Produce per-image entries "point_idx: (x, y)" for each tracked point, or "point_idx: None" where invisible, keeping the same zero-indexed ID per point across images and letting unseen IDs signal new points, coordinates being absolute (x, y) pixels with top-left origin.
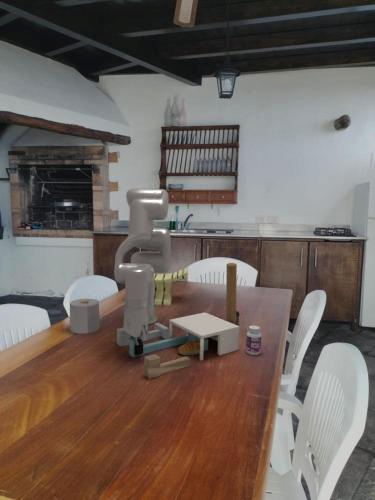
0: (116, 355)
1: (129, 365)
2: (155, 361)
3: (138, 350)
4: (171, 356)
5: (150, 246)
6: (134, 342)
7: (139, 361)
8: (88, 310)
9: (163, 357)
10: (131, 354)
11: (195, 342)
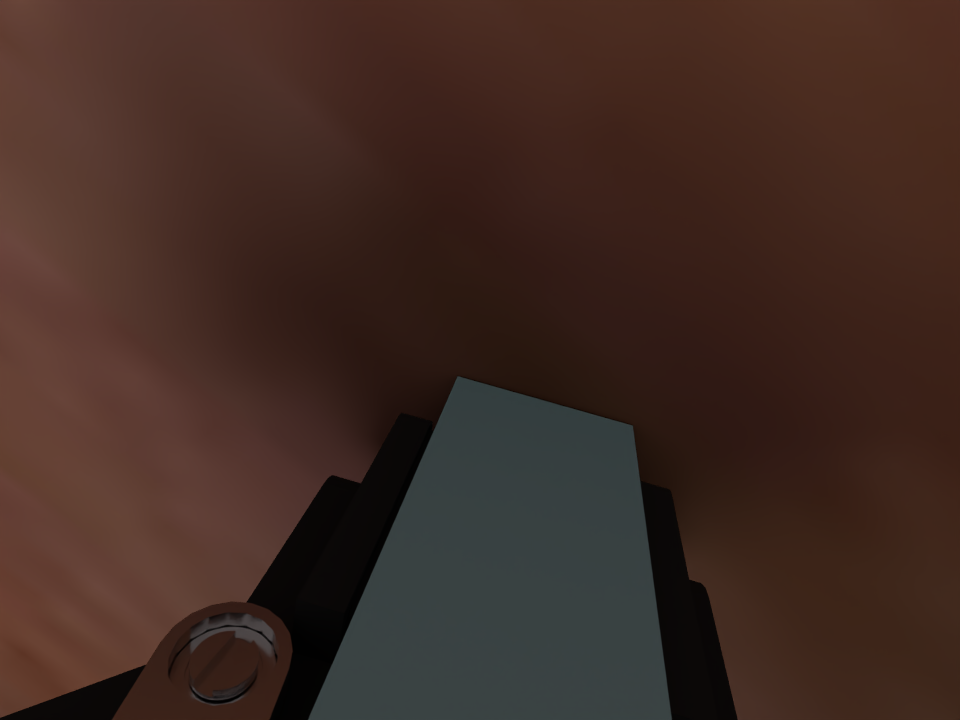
0: (877, 214)
1: (192, 34)
2: None
3: (305, 518)
4: None
5: None
6: (332, 688)
7: (237, 323)
8: None
9: (149, 624)
10: (539, 418)
11: None
